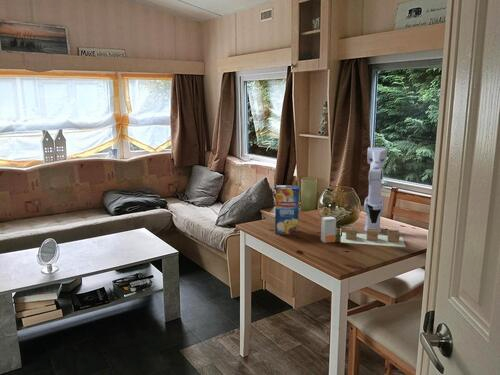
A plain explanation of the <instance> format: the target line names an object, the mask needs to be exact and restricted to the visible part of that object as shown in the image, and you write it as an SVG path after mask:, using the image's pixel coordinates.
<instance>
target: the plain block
mask: <svg viewBox="0 0 500 375" xmlns="http://www.w3.org/2000/svg"><path fill="white" fill-rule="evenodd" d="M366 234H367V241H377V240H378V235H379V232H378V229H377V228H367V231H366Z"/></svg>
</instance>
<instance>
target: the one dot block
mask: <svg viewBox="0 0 500 375" xmlns="http://www.w3.org/2000/svg"><path fill="white" fill-rule="evenodd" d="M400 235H401V232H400V230H399V229H393V228H391V229H390V228H387V236H388V237H387V239H388V242H394V243H399V236H400Z"/></svg>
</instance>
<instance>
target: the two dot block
mask: <svg viewBox="0 0 500 375" xmlns="http://www.w3.org/2000/svg"><path fill="white" fill-rule="evenodd" d="M345 230H346V231H345V233H346V239H352V240H356V236H357V234H358V233H357V231H358V227H356V226H346V227H345Z"/></svg>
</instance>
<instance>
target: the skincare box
mask: <svg viewBox="0 0 500 375" xmlns="http://www.w3.org/2000/svg"><path fill="white" fill-rule="evenodd" d="M320 225H321V226H320V241H321V242H322V243H324V244H325V243H335V242H336V230H337V229H336V228H337V218H336V217H334V216H324V217H321V224H320Z"/></svg>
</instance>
